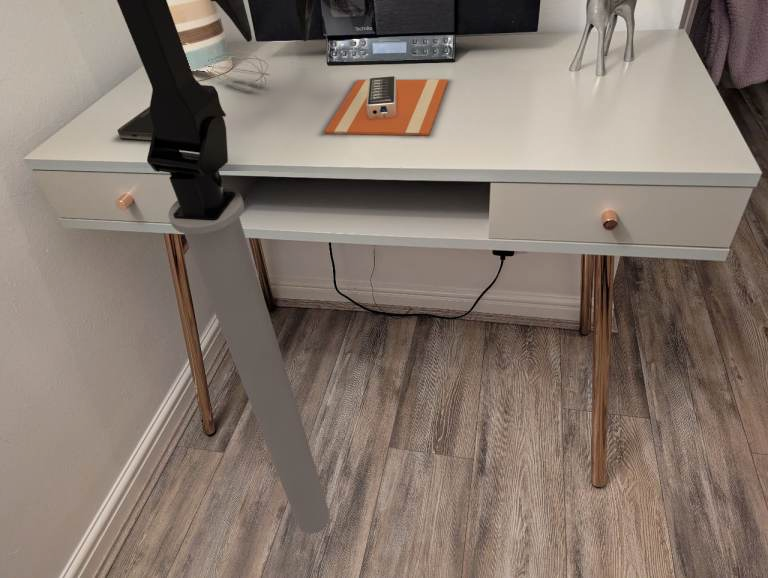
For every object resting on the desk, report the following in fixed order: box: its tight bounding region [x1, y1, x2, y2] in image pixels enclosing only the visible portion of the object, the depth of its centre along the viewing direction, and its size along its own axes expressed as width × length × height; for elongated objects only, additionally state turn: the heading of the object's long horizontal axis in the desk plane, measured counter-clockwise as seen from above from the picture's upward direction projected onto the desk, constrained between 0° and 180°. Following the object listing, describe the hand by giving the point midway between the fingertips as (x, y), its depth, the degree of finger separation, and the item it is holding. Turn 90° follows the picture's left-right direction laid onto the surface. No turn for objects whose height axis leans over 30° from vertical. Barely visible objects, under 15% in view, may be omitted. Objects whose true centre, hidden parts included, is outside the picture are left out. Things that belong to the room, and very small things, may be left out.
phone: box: [117, 106, 154, 142], centre depth 97 cm, size 8×1×15 cm
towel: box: [324, 78, 449, 136], centre depth 93 cm, size 20×16×1 cm
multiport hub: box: [367, 75, 397, 119], centre depth 92 cm, size 4×11×2 cm, turn 179°
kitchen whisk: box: [205, 51, 271, 92], centre depth 109 cm, size 6×34×6 cm, turn 50°
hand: (277, 40), depth 87 cm, fingers open, 9 cm apart
